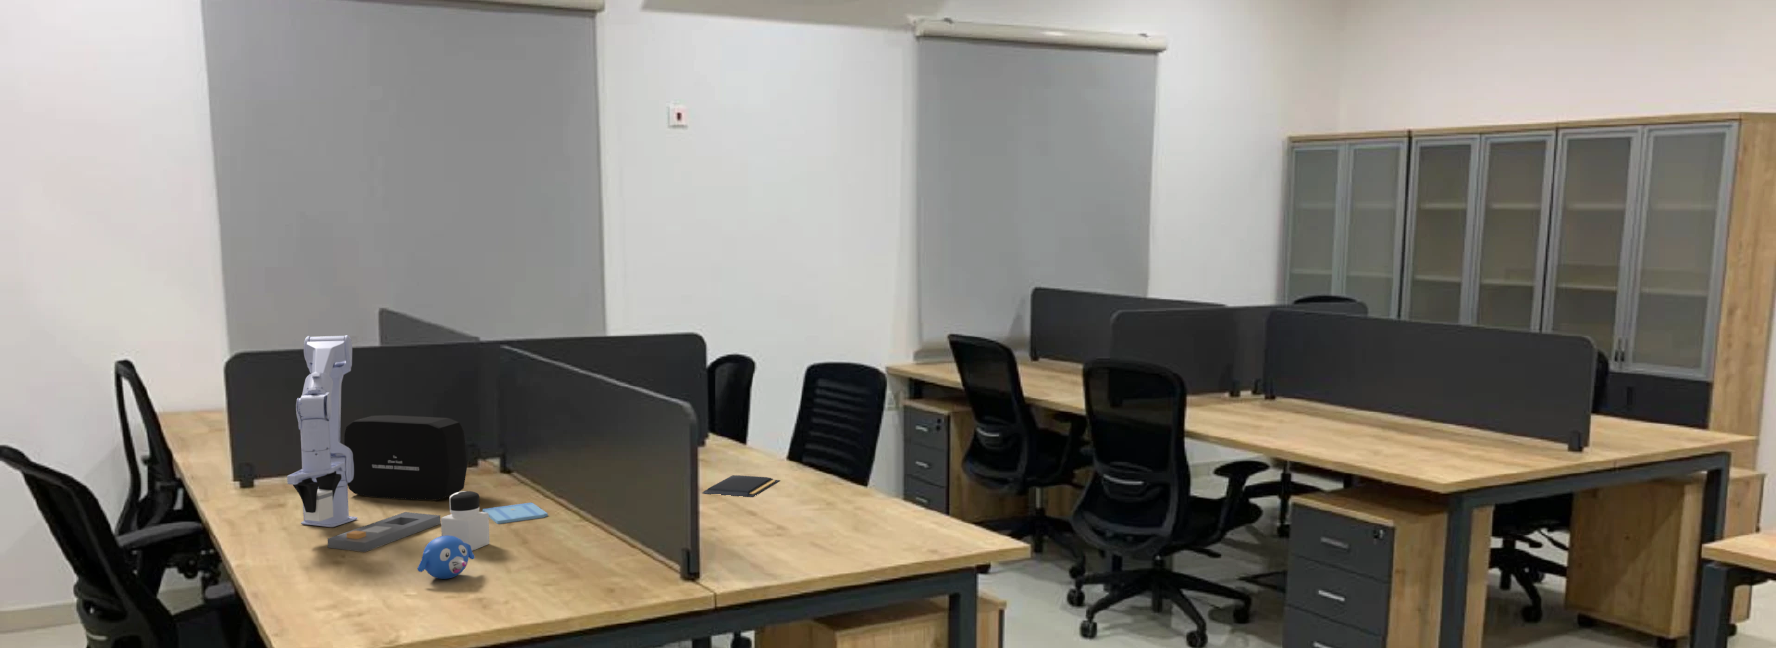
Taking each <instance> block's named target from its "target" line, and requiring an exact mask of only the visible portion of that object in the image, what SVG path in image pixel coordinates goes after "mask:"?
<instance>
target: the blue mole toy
mask: <svg viewBox="0 0 1776 648" xmlns="http://www.w3.org/2000/svg"><path fill="white" fill-rule="evenodd" d="M475 558H476V557H475V554H474V552H473V551H472V549H471V546H470V545H469V544H467V543H464V542H463V541H462V540H461V539H459V538H457V537H455V536H442V535H441V536H438V537H435V538H434V539H432V540H430V541H429V542H428V543H427V544H426V545H425V547H424V549H423V553H422V557H421V560H420V562H419V565H418V566H417V571H418V572H420V573H422V572H424V571H426V572H427V574H428V575H430V576H431V577H433V578H435V579H438V580H439V579H440V580H447V579H448V580H449V579H452V578H455V577H457V576H458V575H460V574H461V573H462V572H463V571H465V569H466V567H467V565H468V563H469V559H470V560H474V559H475Z"/></svg>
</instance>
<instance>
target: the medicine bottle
mask: <svg viewBox="0 0 1776 648" xmlns="http://www.w3.org/2000/svg"><path fill="white" fill-rule="evenodd" d="M449 513H450V514H447V515H445V516H442V517H440V520H441V524H440V525H441V526H440V529H441V530H440V531H441V536H455V537H457V538H459V539H461V540H462V541H463V542H464V543H467V544H469V545H470V546H471V549H472V552H473V551H476V550H478V549H480V548H482V547H485V546H488V545H489V544H490V520H489V519H490V517H489V514H488V513H487V512H483V511H480V495H479V493H478V492H475V491H471V490H461V491H459V492H457V493H454V494H452V495H451V496H449Z"/></svg>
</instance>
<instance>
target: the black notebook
mask: <svg viewBox="0 0 1776 648" xmlns="http://www.w3.org/2000/svg"><path fill="white" fill-rule="evenodd" d="M780 482H781V480H780V479H774V478H772V477H767V476H755V475H754V476H752V475H742V474H741V475H739V474H736V475H730V476H729V477H727V478H725V479H723V480H721V481H719V482H717V483H715V484H714V485H711V486H710V487H708V488H707V489H705V490H704V491H702V492H701V494H703V495H711V494H721V495H720V496H726V495H731V496H730V497H739V496H743V497H742V498H754V496H755V495H756V496H758V495H760V494H761V493H762V492H764V491H766V490H768V489H770V488H771V487H773V486H775V485H776V484H778V483H780ZM757 494H758V495H757ZM756 496H755V497H756Z"/></svg>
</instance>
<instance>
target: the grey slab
mask: <svg viewBox="0 0 1776 648" xmlns="http://www.w3.org/2000/svg"><path fill="white" fill-rule="evenodd" d="M438 525H441V515H439V514H429V513H428V514H427V513H419V512H410V511H405V512H401V513H399V514H395V515H392V516H390V517H386V518H384V519H381V520H379V521H375V522H372V523H370V524H366V525H363V526H361V527H358V528H354V529H352V530H349V531H346V532H343V533H340V534H337V535H334V536H331V537H328V538H327V549H328V548H329V549H337V550H346V551H356V552H363V553H366V552H369V551H372V550H374V549H377V548H379V547H382V546H385V545H387V544H390V543H392V542H395V541H398V540H401V539H404V538H406V537H408V536H411V535H414V534H416V533H420V532H423V531H425V530H428V529H430V528H433V527H436V526H438Z"/></svg>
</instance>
